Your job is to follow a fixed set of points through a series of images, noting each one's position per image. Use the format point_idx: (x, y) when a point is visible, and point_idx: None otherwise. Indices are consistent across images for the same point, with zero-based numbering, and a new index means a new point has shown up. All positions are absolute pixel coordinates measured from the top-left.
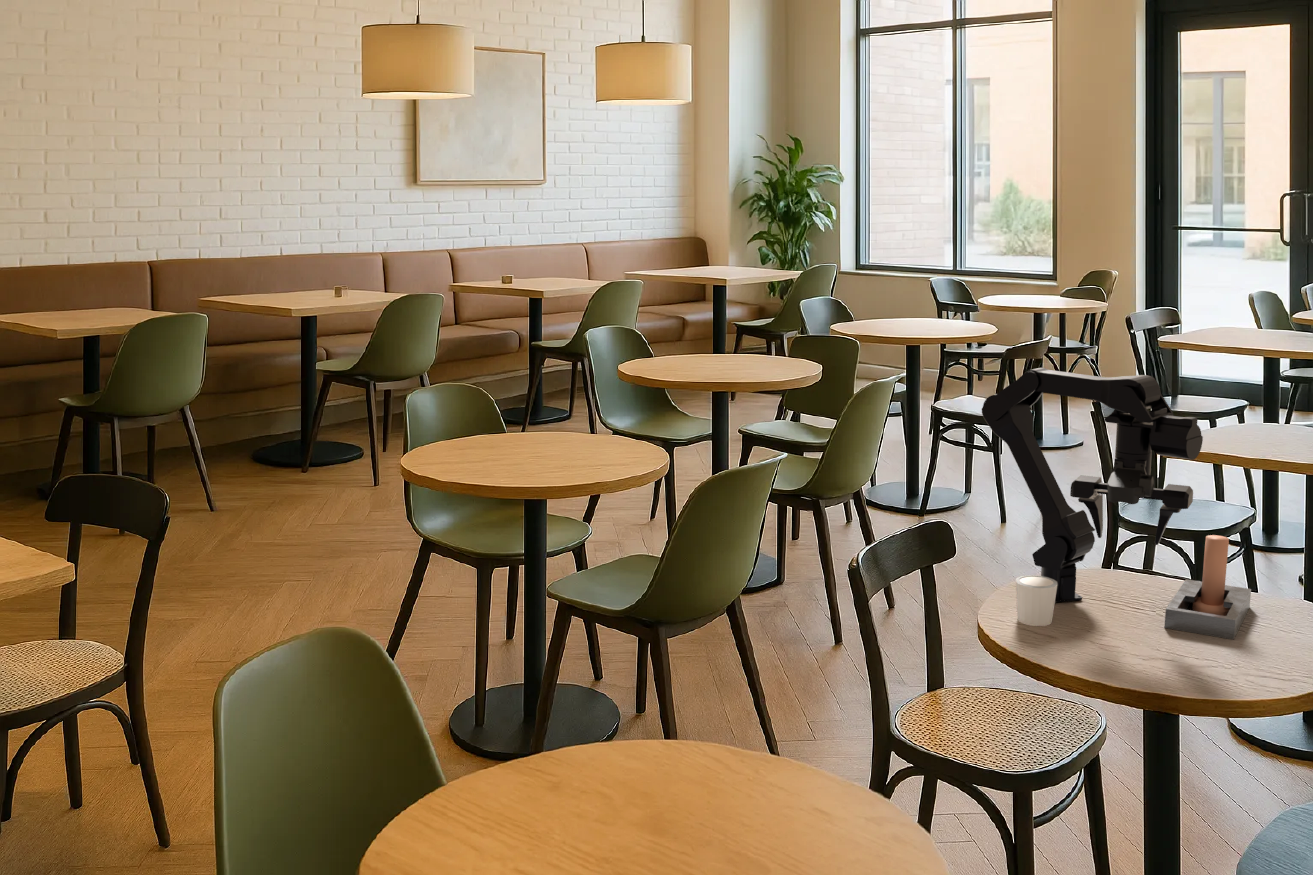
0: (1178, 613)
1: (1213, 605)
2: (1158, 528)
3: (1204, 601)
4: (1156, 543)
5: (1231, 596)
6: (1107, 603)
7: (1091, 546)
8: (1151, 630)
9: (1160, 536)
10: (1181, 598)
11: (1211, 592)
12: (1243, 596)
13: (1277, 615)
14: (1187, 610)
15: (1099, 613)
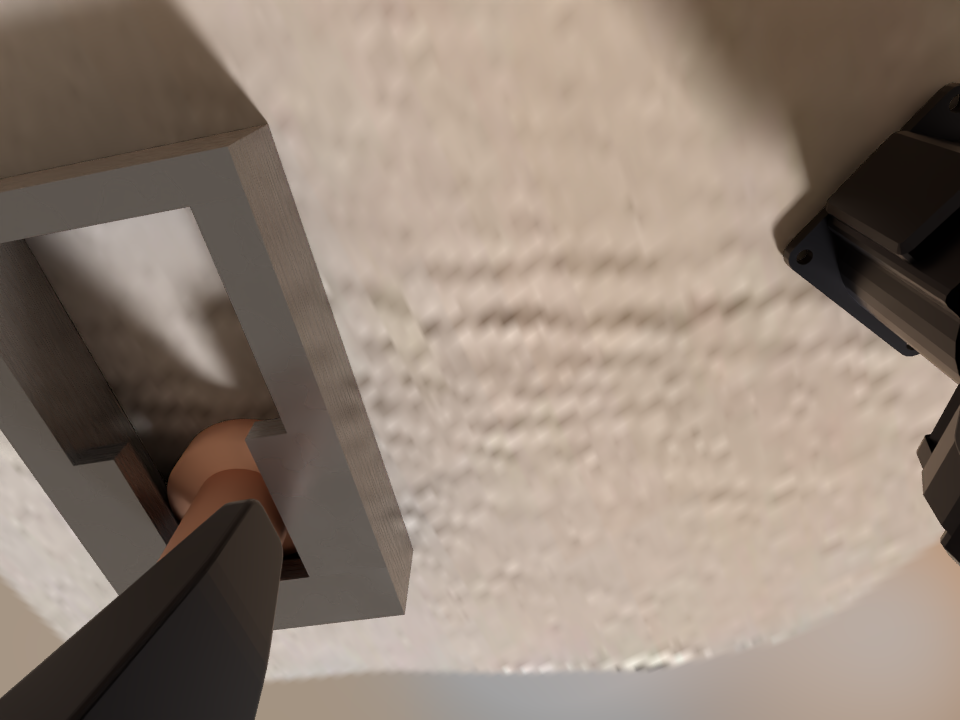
0: (161, 158)
1: (216, 472)
2: (64, 697)
3: (253, 478)
4: (230, 506)
5: (139, 534)
6: (652, 295)
7: (942, 484)
8: (292, 25)
9: (130, 591)
10: (275, 381)
11: (204, 514)
12: (108, 559)
13: (72, 559)
14: (128, 208)
15: (641, 112)
